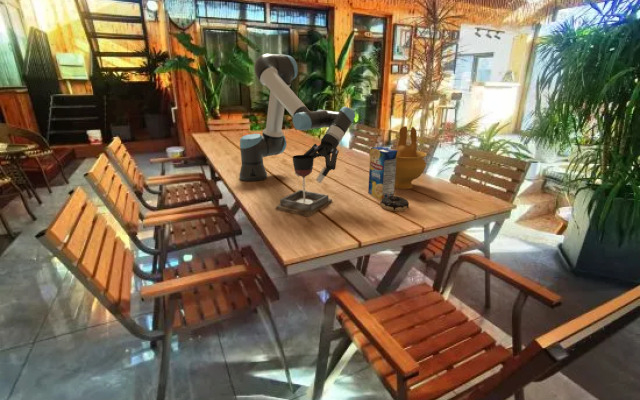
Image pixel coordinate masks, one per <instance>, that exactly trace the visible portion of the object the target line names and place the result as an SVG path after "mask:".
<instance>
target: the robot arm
mask: <svg viewBox="0 0 640 400" xmlns="http://www.w3.org/2000/svg"><path fill="white" fill-rule="evenodd" d="M298 68H299V67H298V63H297V62H296V59H295V58H294V57H292V56H291V55H288V54H279V53H277V54H276V53H264V54H263V53H262V54H261V55H260V56H259V57H257V59H256V60H255V62H254V67H253V69H254V73H255V76H256V78H257V80H258V81H259V82H260V83H261V85H263V86H266V87H267V89H268V90H269V91H270V92H269V98H268V99H269V100H268V108H267V117H266V124H265V128H264V129H263V130H262V134H259V133H252V134H249V133H248V134H246V135H242V137H241V138H240V139H239V148H240V159H241V167H240V171H239V175H238V176H239V179H240V180H241V181H243V182H259V181H263V180H265V179H267V178H268V173H267V170H266V168H265V165H264V158H266V157H273V156H277V155H280V154H283V153H284V151H285V150H286V148H287V139H286V137H285V134H284V132H283V130H282V129H283V123H284V114H285V109H286V111H287V112H288V113H289V115H290V116H291V117H292V124H293V127H294V128H295V130H298V131H308V130H315V129H321V128H327V130H326V131H325V133H324V134H323V136H322V137H321V139H320V144H319V145H317V143H313V145H312V146H311V147H310V148H309V149H308V150H307V151H305V153H304V154H303V155H312V156H314V159H316V158H319V157H323V158H324V160H325V166H323V167H322V169H321V171H320V172H319V173H318V176H317V177H316V178H315V179H316V181H317V182H318V183H319V184H321V183H322V182H323V181H324V179H325V177H327V175H328V174H329V172H330V171H335V170H336V166H337V160H338V154H339V153H340V150H338V149H337V148H338V146H339V144H340V142H341V141H342V140H343V138H344V137H345V135H346V133H347V131H348V130H349V128H350V127H351V125H352V124H353V122H354V120H355V118H356V113H355V111H354V110H353V109H351V108H350V107H348V106H343V107H341V108H340V109H339V111H334V110H327V109H317V110H315V111H311V110H309V109H308V107H307V106H306V105H305V104H304V103H303V101H302V100H301V99H300V98H299V97H298V96H297V94H296V93H295V92H294V91H293V90H292V89H291V88H290V87H291V85H292V81H293V80H294V79H296V78H297V76H298V72H299V71H298V70H299V69H298ZM294 174H295V175H296V176H297V177H300V176H299V175H298V174H297V173H296V172H295V171H294Z"/></svg>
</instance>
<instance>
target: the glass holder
mask: <svg viewBox="0 0 640 400" xmlns="http://www.w3.org/2000/svg"><path fill="white" fill-rule="evenodd" d="M301 199H303V189H299V190H297V191H295V192H293V193H291V194H288V195H286V196H284V197H282V198H281V199H280V204H278V205H276V206H275V209H276V210H278V211H283V212H287V213H292V214H295V215H300V216H303V217H307V218H309V217H310V216H311V215H313V214H315V213H317V212H318V211H319V210H321V209H322V208H324V207H326V206H328V205H329V204H331V203H332V202H333V199H332V198H329V195H328V194H324V193H319V192H313V191H309V190H305V199H309V200H312V201H313V203H311V204H304V203H300V202H296V201H297V200H301Z"/></svg>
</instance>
